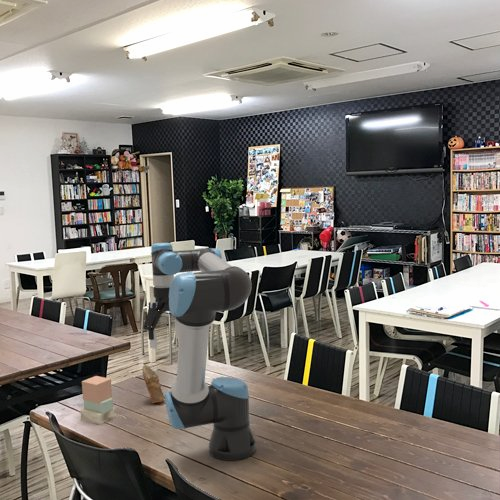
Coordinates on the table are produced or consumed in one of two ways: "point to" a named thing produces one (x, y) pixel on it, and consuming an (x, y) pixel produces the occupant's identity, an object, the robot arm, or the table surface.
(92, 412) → the block base
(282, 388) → the table surface
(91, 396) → the terracotta block
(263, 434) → the table surface
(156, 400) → the figurine
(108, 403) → the block top
